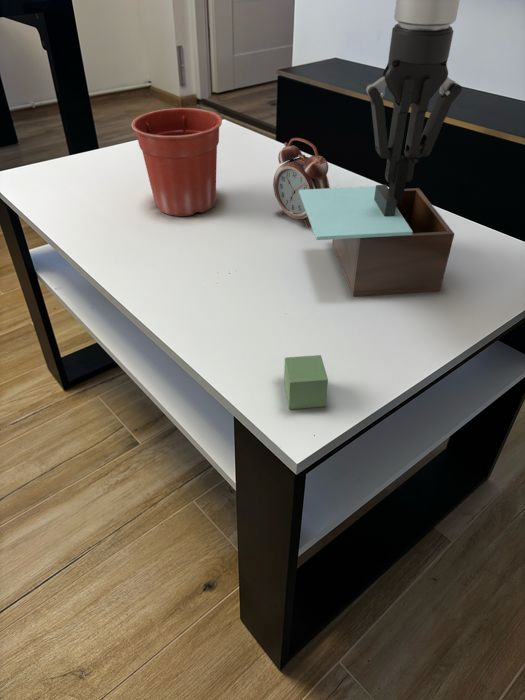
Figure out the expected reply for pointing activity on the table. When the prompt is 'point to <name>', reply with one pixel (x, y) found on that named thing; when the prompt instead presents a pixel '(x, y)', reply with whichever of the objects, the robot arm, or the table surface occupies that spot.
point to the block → (305, 382)
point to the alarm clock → (298, 178)
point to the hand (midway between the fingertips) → (394, 201)
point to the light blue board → (353, 213)
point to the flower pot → (180, 158)
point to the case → (399, 253)
